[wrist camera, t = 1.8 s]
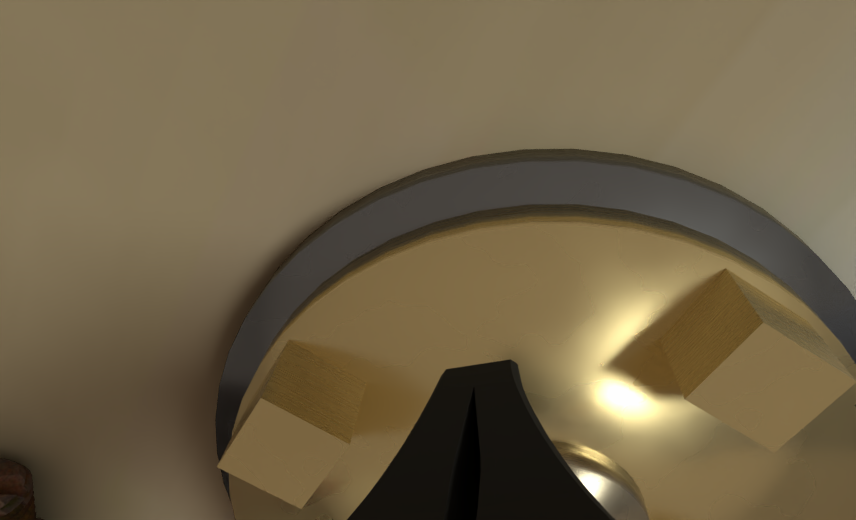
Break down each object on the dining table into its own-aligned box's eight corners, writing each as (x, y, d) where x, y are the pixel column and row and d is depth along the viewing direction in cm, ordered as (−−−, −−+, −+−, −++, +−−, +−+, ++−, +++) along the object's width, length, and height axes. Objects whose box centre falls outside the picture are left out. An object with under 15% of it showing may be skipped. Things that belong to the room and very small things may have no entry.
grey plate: (890, 71, 17) (923, 83, 16) (864, 633, 26) (884, 670, 24) (127, 226, 20) (103, 246, 19) (330, 673, 29) (323, 708, 28)
